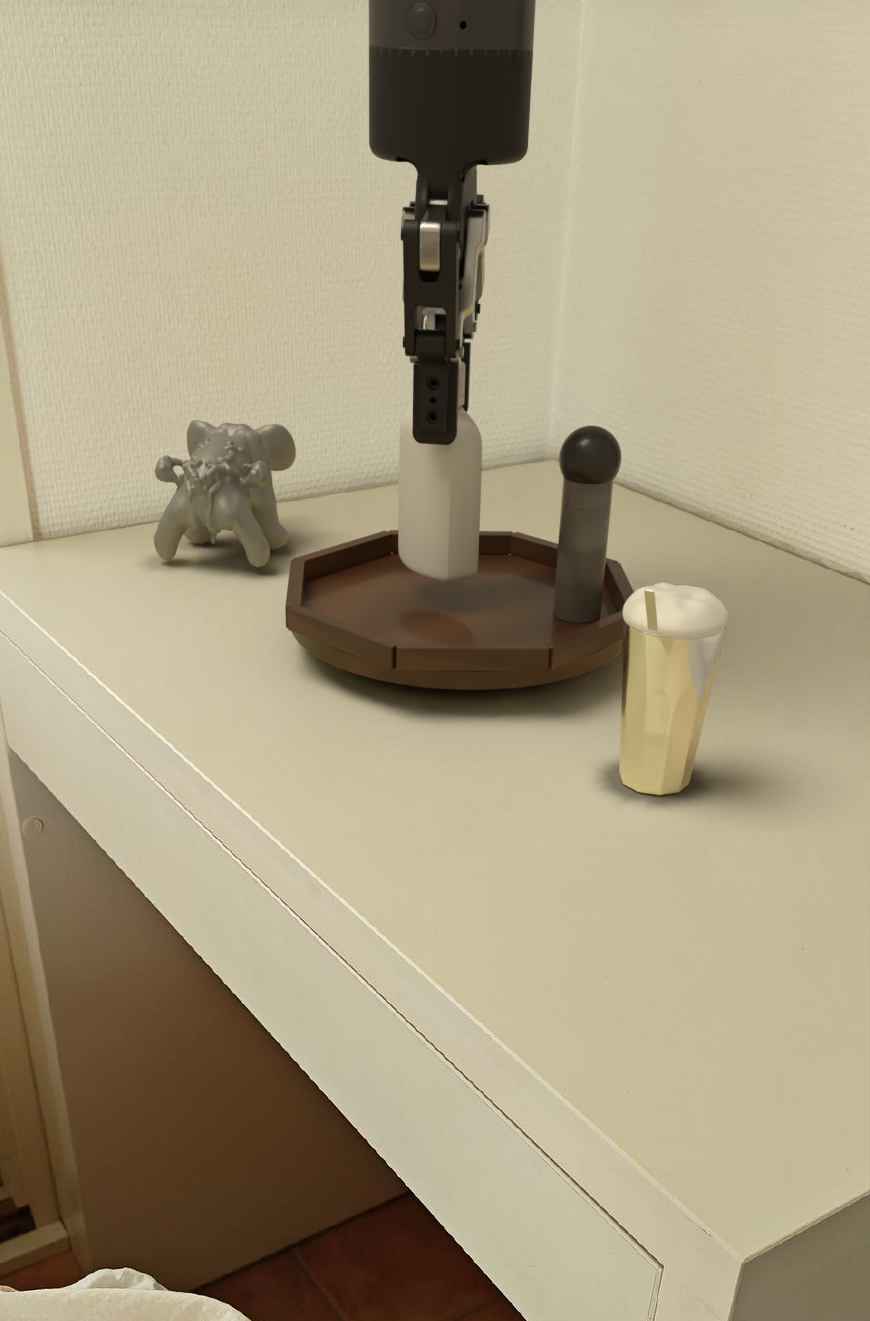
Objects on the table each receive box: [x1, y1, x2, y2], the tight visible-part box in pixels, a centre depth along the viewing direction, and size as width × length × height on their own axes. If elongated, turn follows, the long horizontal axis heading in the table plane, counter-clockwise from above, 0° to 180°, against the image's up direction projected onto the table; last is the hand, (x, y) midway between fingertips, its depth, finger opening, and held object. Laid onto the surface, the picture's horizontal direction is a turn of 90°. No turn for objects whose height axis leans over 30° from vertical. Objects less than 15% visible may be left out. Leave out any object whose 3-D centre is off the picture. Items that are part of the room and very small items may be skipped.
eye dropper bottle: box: [397, 361, 483, 582], centre depth 72 cm, size 4×6×12 cm
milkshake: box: [618, 582, 729, 796], centre depth 61 cm, size 4×5×10 cm
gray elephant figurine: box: [153, 419, 297, 568], centre depth 89 cm, size 9×12×8 cm
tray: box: [284, 425, 635, 690], centre depth 73 cm, size 19×19×11 cm
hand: (441, 427), depth 71 cm, fingers closed on eye dropper bottle, 5 cm apart
